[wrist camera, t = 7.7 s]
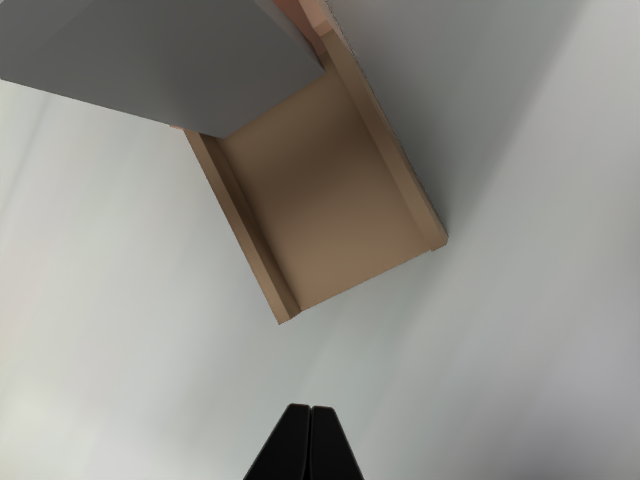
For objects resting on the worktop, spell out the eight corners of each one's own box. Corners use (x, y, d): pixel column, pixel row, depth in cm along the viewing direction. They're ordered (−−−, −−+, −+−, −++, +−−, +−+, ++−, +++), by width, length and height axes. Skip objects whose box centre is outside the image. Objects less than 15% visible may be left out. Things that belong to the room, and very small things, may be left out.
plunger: (326, 72, 16) (180, -72, 8) (223, 139, 18) (0, 79, 9) (311, 42, 16) (149, -133, 8) (209, 111, 18) (-25, 25, 9)
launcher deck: (448, 236, 18) (446, 244, 15) (310, 303, 20) (279, 324, 17) (356, 61, 19) (333, 28, 15) (229, 142, 21) (183, 129, 17)
